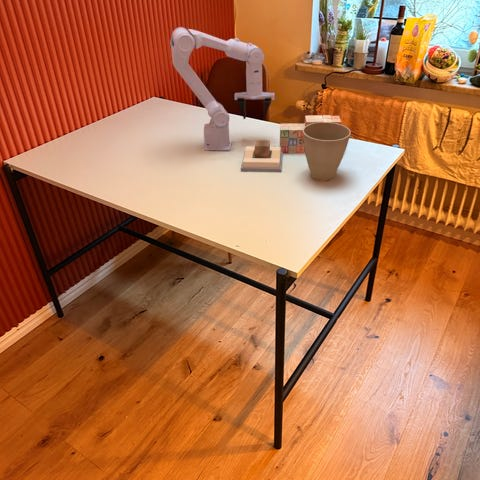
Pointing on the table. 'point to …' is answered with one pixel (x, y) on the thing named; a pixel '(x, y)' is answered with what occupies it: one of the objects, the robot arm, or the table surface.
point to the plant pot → (325, 148)
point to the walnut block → (262, 149)
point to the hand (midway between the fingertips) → (254, 118)
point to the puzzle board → (262, 161)
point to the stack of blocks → (300, 133)
